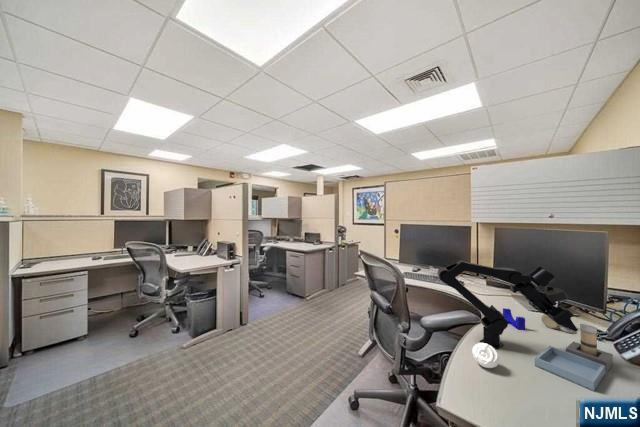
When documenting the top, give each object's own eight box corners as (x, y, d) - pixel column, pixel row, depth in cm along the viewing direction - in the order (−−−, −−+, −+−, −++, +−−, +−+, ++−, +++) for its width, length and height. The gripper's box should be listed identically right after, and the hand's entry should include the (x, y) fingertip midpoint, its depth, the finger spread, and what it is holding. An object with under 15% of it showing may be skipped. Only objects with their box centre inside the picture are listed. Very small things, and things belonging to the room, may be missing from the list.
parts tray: (593, 391, 70) (593, 381, 70) (534, 365, 82) (534, 357, 82) (605, 374, 78) (605, 365, 78) (550, 353, 90) (549, 345, 90)
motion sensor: (469, 364, 83) (469, 343, 83) (476, 356, 88) (476, 336, 88) (495, 376, 77) (495, 353, 77) (502, 367, 81) (502, 346, 82)
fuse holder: (606, 372, 79) (606, 362, 79) (565, 357, 88) (565, 348, 88) (612, 363, 84) (612, 354, 84) (573, 349, 93) (573, 341, 93)
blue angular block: (499, 319, 122) (499, 308, 122) (509, 319, 121) (509, 308, 121) (514, 329, 110) (514, 317, 110) (525, 330, 109) (525, 318, 109)
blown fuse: (596, 365, 83) (595, 330, 83) (579, 359, 87) (578, 325, 87) (598, 361, 85) (598, 327, 86) (582, 355, 89) (581, 322, 89)
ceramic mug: (539, 325, 114) (540, 310, 114) (547, 322, 118) (547, 307, 118) (569, 335, 105) (569, 319, 105) (577, 332, 108) (577, 316, 108)
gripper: (565, 288, 82) (608, 323, 78) (536, 276, 99) (570, 304, 95) (538, 306, 84) (578, 342, 80) (515, 291, 102) (546, 320, 98)
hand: (568, 325), depth 88 cm, fingers open, 9 cm apart
